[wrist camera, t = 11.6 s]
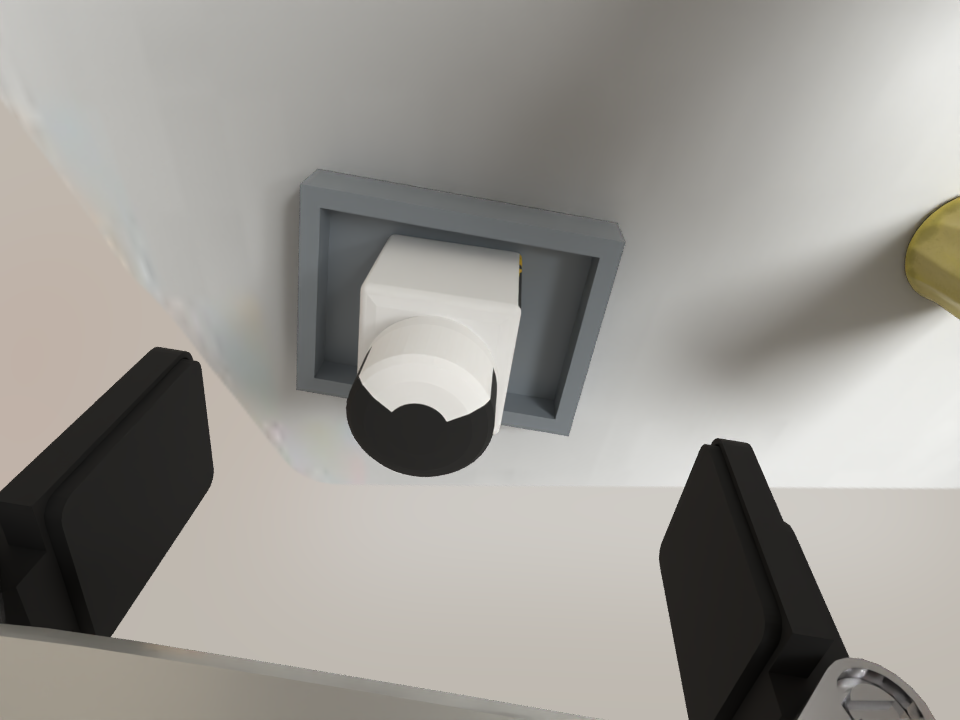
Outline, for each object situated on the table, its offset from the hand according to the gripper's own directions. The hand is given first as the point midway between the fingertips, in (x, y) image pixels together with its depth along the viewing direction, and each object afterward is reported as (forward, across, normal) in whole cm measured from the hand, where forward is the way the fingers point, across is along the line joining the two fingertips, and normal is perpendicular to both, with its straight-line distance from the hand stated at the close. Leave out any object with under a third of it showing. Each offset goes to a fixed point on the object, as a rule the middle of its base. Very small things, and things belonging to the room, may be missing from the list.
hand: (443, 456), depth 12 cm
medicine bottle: (+23, +2, +8) cm, 24 cm away
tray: (+23, +2, +8) cm, 25 cm away
